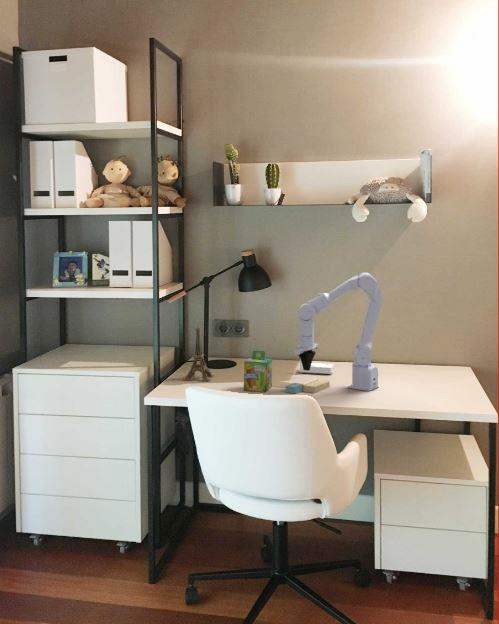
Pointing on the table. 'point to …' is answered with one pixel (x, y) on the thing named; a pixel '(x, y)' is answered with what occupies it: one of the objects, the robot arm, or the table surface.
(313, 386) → the cream usb hub
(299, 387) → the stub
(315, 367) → the bracket
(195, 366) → the eiffel tower
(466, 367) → the table surface
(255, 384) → the chalk box
